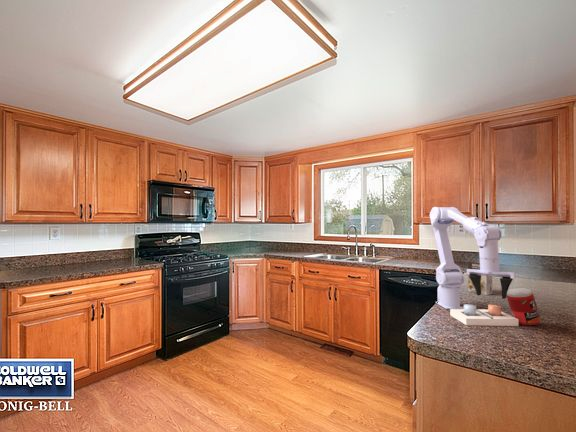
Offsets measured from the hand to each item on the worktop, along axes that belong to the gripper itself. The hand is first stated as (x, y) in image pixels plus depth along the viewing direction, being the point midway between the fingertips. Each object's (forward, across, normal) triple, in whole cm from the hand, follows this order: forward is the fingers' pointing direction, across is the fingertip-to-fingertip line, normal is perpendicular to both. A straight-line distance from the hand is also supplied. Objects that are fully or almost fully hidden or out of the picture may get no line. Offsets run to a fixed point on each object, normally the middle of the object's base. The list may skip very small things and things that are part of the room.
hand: (491, 296), depth 101 cm
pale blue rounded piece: (+8, -7, -1) cm, 11 cm away
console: (+10, -4, +3) cm, 11 cm away
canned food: (+9, +7, +11) cm, 16 cm away
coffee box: (+8, -19, +49) cm, 53 cm away
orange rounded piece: (+8, -1, +6) cm, 10 cm away
